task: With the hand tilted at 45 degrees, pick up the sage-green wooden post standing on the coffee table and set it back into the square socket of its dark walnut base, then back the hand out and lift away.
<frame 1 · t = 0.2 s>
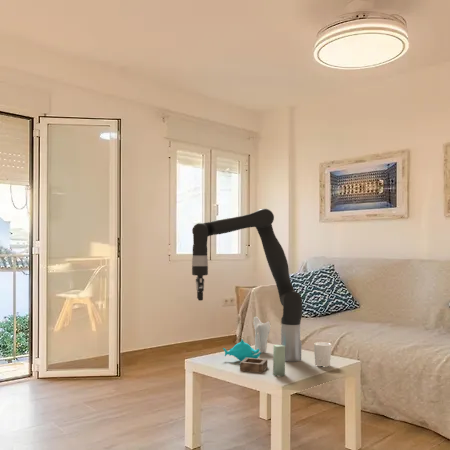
hand: (200, 299, 226), 29 cm above the table, tool pointing down, fingers open, 8 cm apart
white cup: (322, 365, 221), on the table
socket base: (253, 368, 213), on the table
toy shark: (241, 361, 226), on the table
shell sculpture: (261, 352, 247), on the table
post: (278, 374, 204), on the table
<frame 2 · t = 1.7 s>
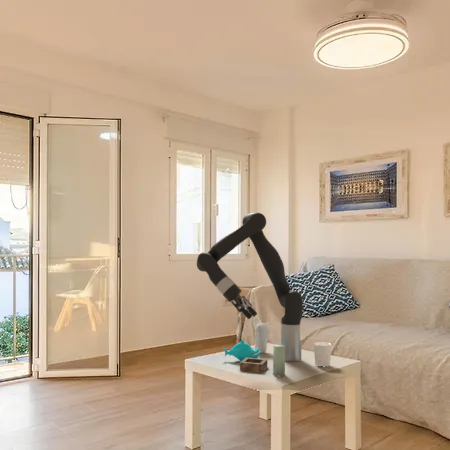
hand: (253, 316, 209), 24 cm above the table, tool tilted 45°, fingers open, 8 cm apart
nothing on the table moved.
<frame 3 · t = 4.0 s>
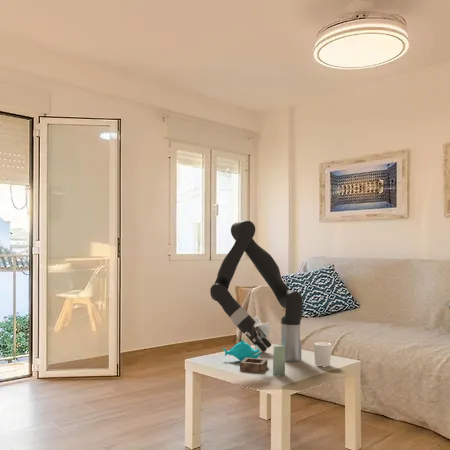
hand: (267, 348, 206), 11 cm above the table, tool tilted 45°, fingers open, 8 cm apart
nothing on the table moved.
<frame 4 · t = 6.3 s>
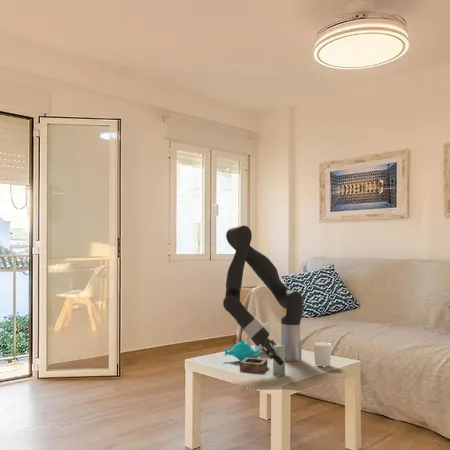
hand: (283, 362, 204), 5 cm above the table, tool tilted 45°, fingers closed on post, 5 cm apart
post: (279, 374, 204), on the table, touching gripper
everything else where it was.
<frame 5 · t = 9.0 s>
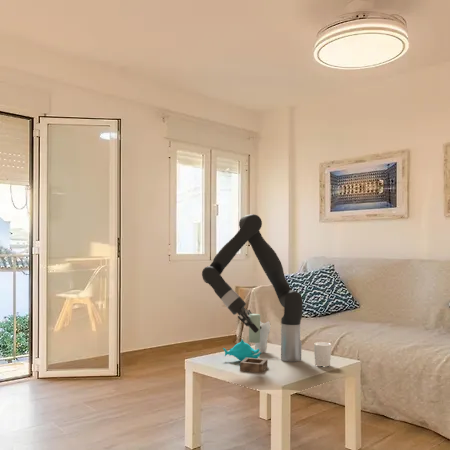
hand: (258, 330, 213), 17 cm above the table, tool tilted 45°, fingers closed on post, 5 cm apart
post: (254, 341, 213), point 12 cm above the table, touching gripper
everything else where it was.
when the fingers open (7 cm above the table, at t = 12.2 s): post drops 1 cm, resting on socket base.
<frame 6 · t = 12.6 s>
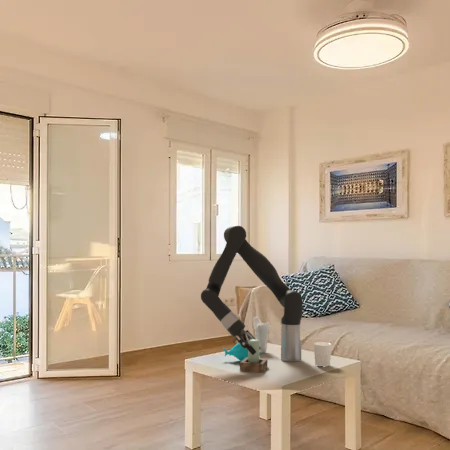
hand: (257, 351, 213), 8 cm above the table, tool tilted 45°, fingers open, 8 cm apart
post: (253, 367, 213), point 1 cm above the table, touching socket base
everything else where it was.
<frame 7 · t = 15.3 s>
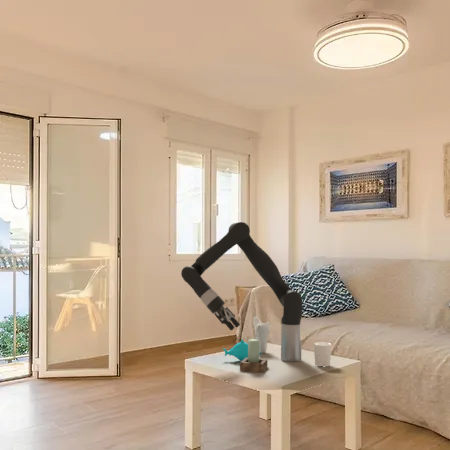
hand: (235, 327, 216), 18 cm above the table, tool tilted 45°, fingers open, 8 cm apart
nothing on the table moved.
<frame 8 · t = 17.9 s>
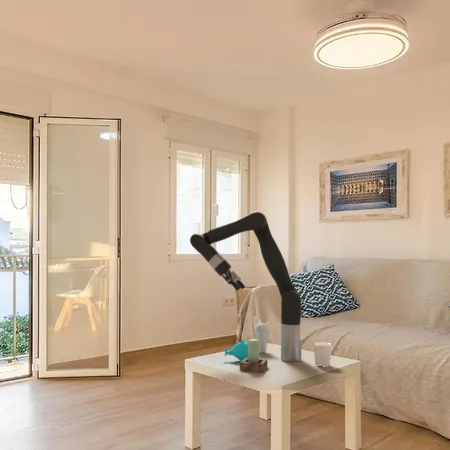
hand: (241, 288, 234), 34 cm above the table, tool tilted 45°, fingers open, 8 cm apart
nothing on the table moved.
at the end: post 0.2 cm off-centre on the socket base, point 0.5 cm above the socket base's base; post tilted 0°; the gripper is holding nothing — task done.
